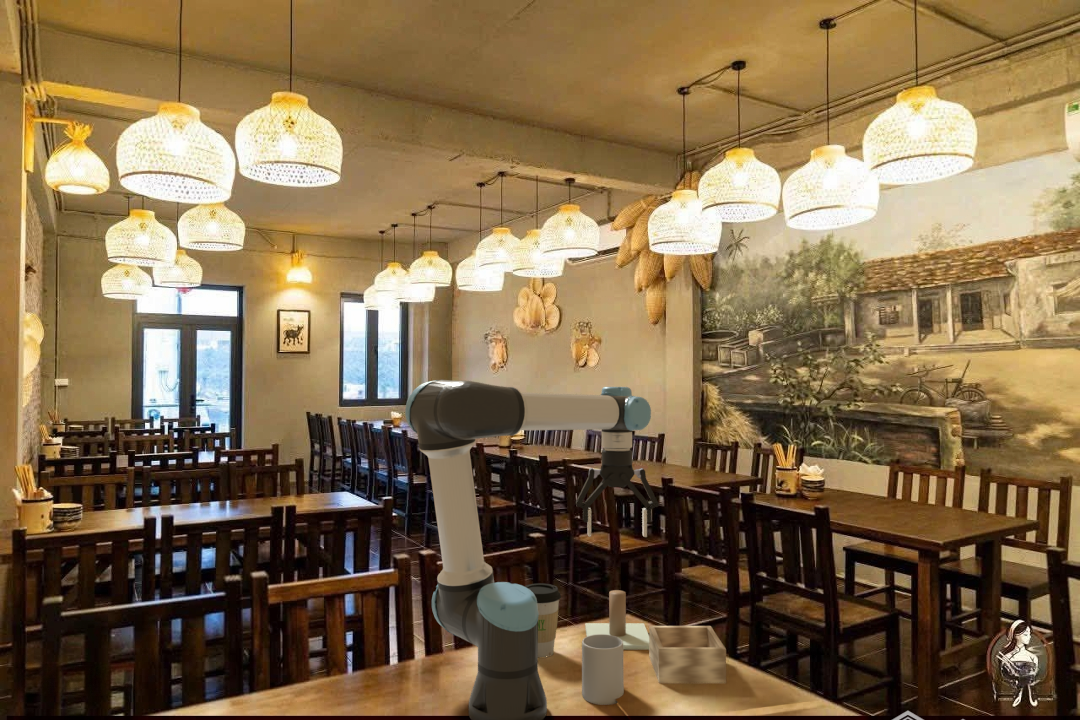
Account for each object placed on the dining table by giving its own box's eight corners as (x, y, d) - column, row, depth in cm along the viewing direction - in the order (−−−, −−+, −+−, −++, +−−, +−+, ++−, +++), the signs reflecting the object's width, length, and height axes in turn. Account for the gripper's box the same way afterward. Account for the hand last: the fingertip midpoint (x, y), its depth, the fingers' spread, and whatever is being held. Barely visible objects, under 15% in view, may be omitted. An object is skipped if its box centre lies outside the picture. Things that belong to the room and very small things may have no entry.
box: (659, 687, 149) (658, 649, 149) (649, 661, 163) (649, 625, 163) (726, 687, 149) (725, 649, 149) (710, 661, 163) (710, 625, 163)
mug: (625, 705, 141) (625, 649, 141) (582, 705, 141) (582, 649, 141) (620, 680, 153) (620, 628, 153) (580, 679, 153) (580, 627, 153)
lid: (588, 654, 168) (588, 602, 168) (585, 631, 183) (585, 583, 183) (652, 654, 167) (652, 602, 168) (644, 632, 182) (643, 583, 183)
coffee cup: (514, 647, 171) (514, 584, 172) (553, 642, 174) (553, 581, 175) (526, 663, 162) (525, 596, 162) (566, 658, 165) (566, 592, 165)
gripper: (566, 450, 173) (566, 538, 172) (670, 450, 172) (670, 539, 172) (565, 447, 180) (565, 532, 179) (664, 447, 180) (665, 532, 179)
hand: (616, 535), depth 176 cm, fingers open, 13 cm apart
